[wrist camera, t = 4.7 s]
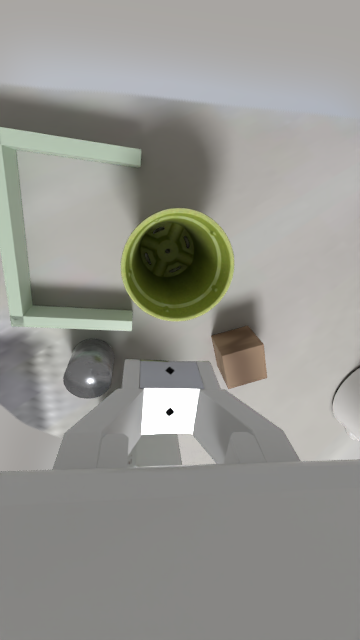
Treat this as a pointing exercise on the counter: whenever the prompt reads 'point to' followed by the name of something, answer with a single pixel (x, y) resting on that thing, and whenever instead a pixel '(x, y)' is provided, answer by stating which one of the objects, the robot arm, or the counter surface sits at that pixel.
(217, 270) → the plant pot
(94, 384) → the metal tin
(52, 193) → the counter surface
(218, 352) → the walnut block
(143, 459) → the supplement box
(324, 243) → the counter surface
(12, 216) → the corral
